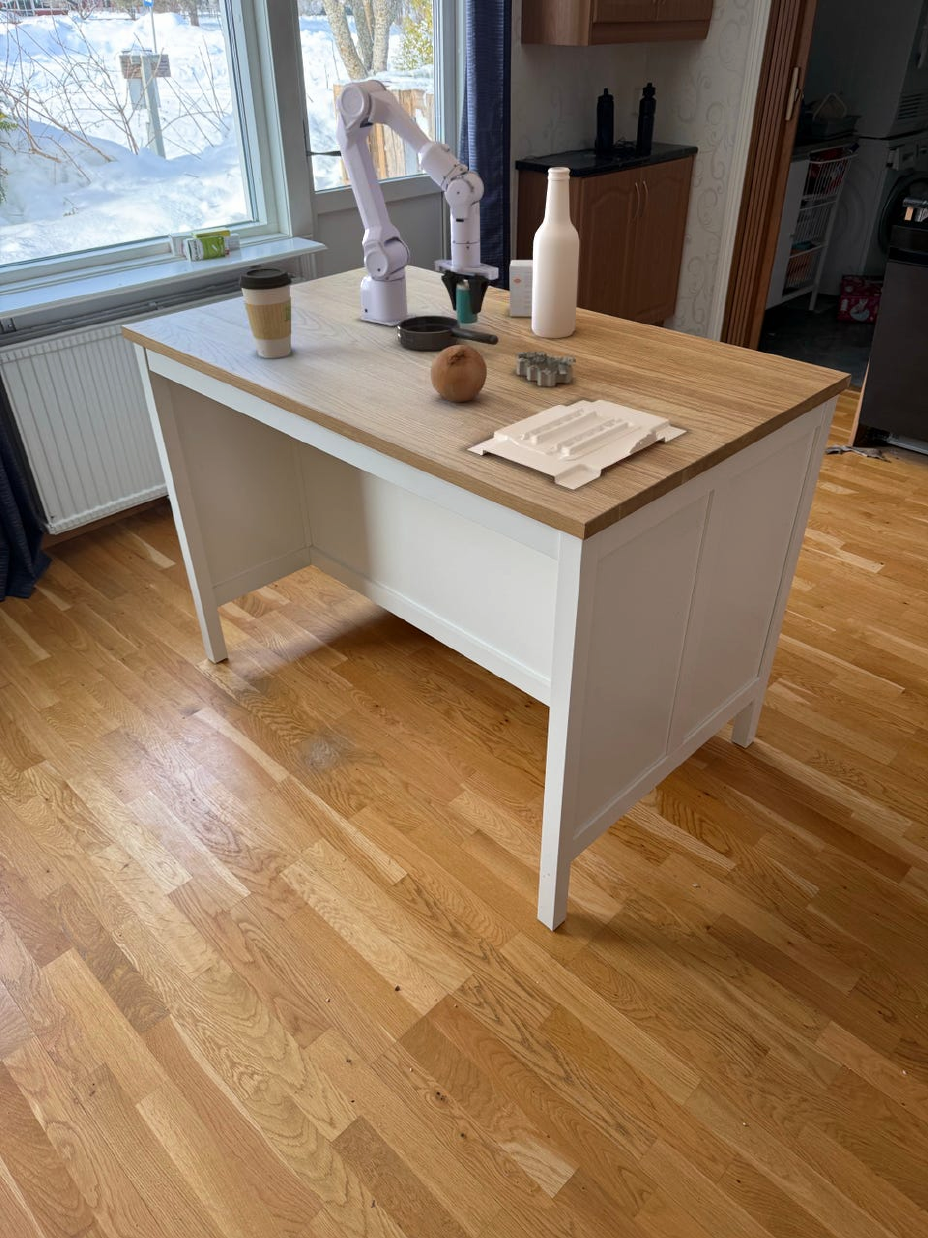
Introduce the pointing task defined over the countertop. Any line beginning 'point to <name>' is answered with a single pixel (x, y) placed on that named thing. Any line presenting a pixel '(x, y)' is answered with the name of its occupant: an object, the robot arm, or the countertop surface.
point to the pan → (427, 333)
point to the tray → (578, 439)
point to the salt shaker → (464, 304)
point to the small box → (521, 288)
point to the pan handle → (474, 336)
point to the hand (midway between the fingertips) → (466, 311)
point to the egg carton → (545, 368)
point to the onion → (458, 373)
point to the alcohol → (555, 263)
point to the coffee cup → (268, 309)
